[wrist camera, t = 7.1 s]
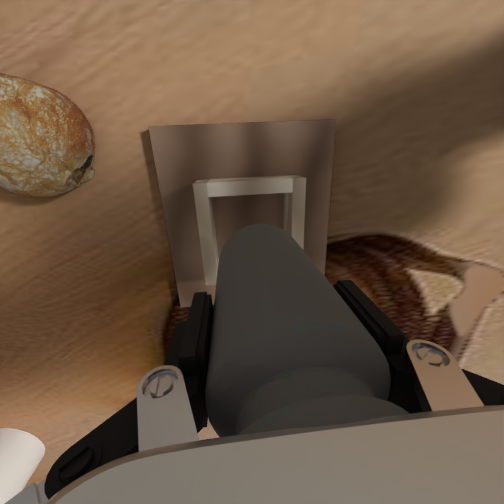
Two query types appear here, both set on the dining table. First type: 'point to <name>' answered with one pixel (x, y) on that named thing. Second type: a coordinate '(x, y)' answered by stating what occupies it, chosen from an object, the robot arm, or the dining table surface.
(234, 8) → the dining table surface
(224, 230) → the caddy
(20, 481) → the cylinder container
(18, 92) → the bread roll
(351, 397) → the bottle
